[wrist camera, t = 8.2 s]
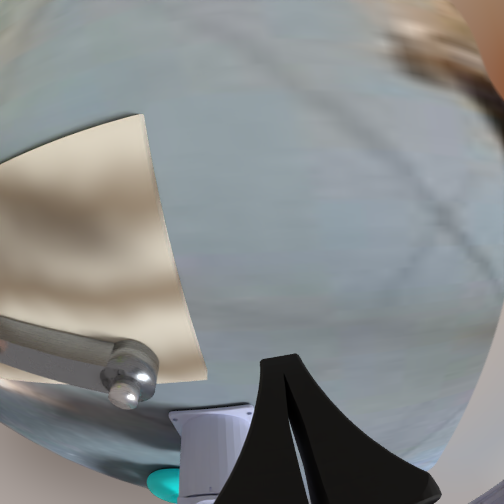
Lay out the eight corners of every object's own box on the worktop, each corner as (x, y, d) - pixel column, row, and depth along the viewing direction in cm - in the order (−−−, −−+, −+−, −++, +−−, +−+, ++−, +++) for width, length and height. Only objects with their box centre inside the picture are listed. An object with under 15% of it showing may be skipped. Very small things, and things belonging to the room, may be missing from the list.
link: (158, 344, 20) (149, 387, 16) (160, 380, 22) (154, 421, 18) (-14, 307, 18) (-38, 335, 14) (-1, 343, 19) (-20, 372, 16)
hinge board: (207, 370, 23) (207, 379, 22) (1, 372, 22) (-2, 378, 21) (143, 114, 15) (139, 114, 14) (-75, 208, 14) (-81, 212, 13)
